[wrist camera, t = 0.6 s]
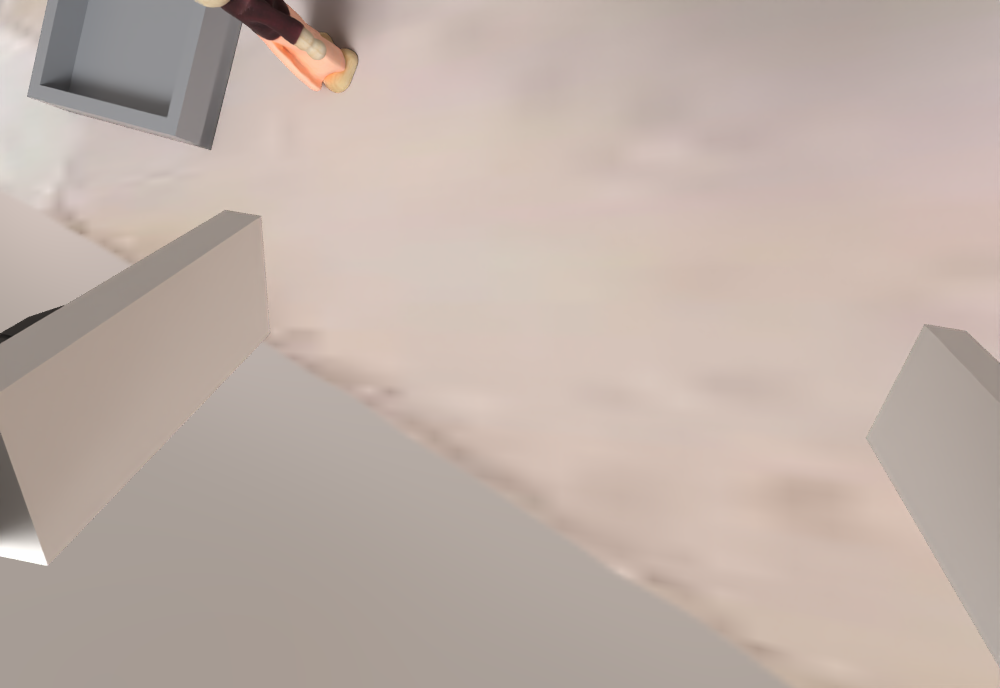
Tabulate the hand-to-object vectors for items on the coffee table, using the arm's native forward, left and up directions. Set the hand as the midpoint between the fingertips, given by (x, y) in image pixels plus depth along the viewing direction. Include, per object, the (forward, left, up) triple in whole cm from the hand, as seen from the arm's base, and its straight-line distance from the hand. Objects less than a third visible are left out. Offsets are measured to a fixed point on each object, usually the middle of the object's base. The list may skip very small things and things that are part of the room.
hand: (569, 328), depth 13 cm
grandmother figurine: (-10, -24, -22) cm, 34 cm away
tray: (-13, -39, -22) cm, 47 cm away
